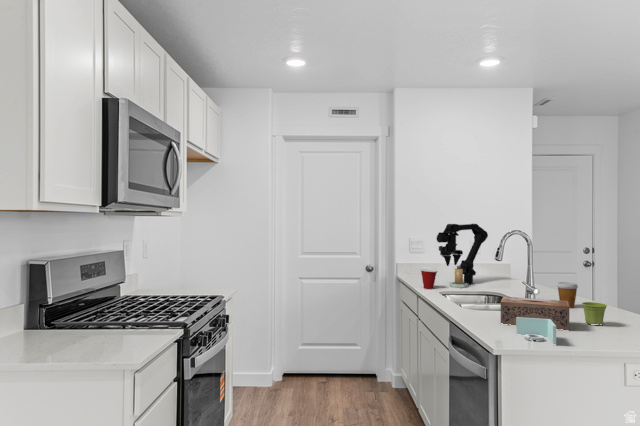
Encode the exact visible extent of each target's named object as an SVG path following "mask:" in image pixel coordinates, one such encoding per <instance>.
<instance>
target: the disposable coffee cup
mask: <svg viewBox="0 0 640 426" xmlns="http://www.w3.org/2000/svg"><path fill="white" fill-rule="evenodd" d="M556 287H557V291H558V292H557V293H558V299H559V300H561V301H568V304H569V309H574V308H575V305H576V299H577V289H578V287H579V286H578V284H577V283H575V282H568V281H566V282H563V281H560V282H557V284H556Z"/></svg>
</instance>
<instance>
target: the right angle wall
mask: <svg viewBox="0 0 640 426" xmlns="http://www.w3.org/2000/svg"><path fill="white" fill-rule="evenodd" d="M515 330H516V331H515V333H516V334H521V335H525V336H523V337H524V339H525V338H527V339H528V340H527V341H529V339H531V340H538V341H539V342H544V341H545V338H544V337H548V338H549V339H550V340H551V342H552V343H553V344H556V345H557V330H556V325H555V324H554V323H553V322H552V320H551V319H539V318H522V317H516V326H515ZM543 336H544V337H543ZM548 338H547V339H548ZM549 339H548V340H549ZM543 340H544V341H543ZM550 340H549V341H550ZM551 342H550V343H551ZM552 343H551V344H552Z"/></svg>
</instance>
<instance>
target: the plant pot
mask: <svg viewBox="0 0 640 426" xmlns="http://www.w3.org/2000/svg"><path fill="white" fill-rule="evenodd" d="M581 305H582V308H583V312H584V318H585V324H586V323H589V324H603V323H604V317H605V312H606V309H607V307H608V304H606V303H601V302H595V301H593V302H592V301H586V302H585V301H584V302H581ZM589 324H588V325H589Z"/></svg>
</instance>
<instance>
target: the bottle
mask: <svg viewBox="0 0 640 426" xmlns="http://www.w3.org/2000/svg"><path fill="white" fill-rule="evenodd" d="M454 282H455V284H463V283H464V274H463V269H461V266H460V265H456V268H454Z"/></svg>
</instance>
